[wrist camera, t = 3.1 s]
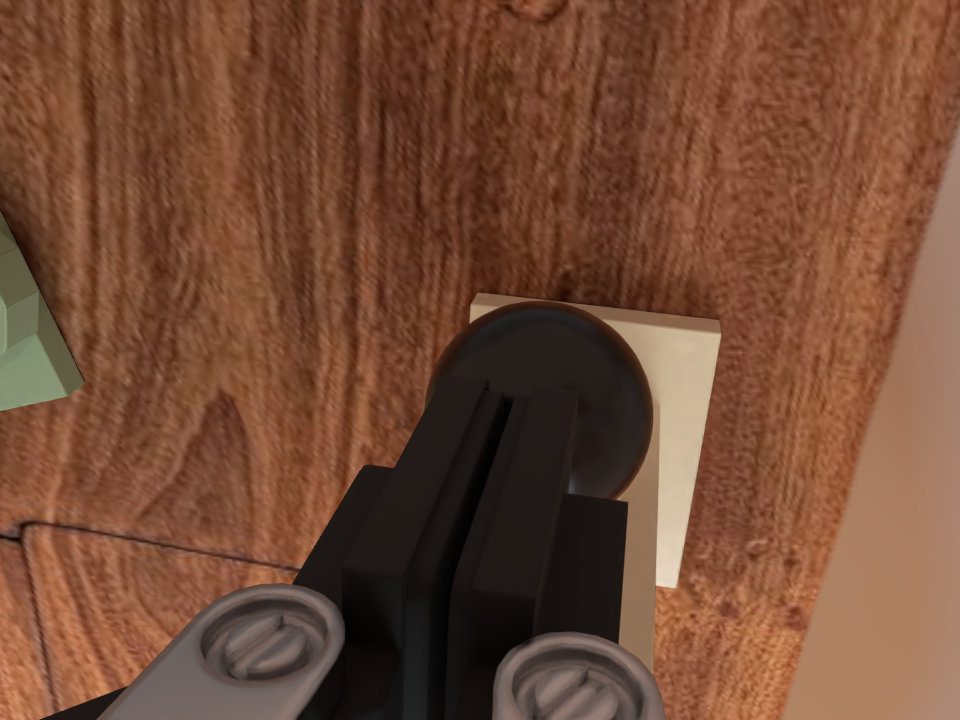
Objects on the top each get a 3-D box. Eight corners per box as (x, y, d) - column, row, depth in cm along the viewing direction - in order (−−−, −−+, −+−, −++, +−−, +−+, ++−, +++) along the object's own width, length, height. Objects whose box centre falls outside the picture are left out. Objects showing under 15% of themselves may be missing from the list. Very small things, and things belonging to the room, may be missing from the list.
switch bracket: (477, 291, 30) (302, 590, 16) (720, 319, 29) (764, 671, 15) (465, 535, 34) (319, 943, 20) (676, 569, 33) (678, 1028, 19)
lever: (449, 245, 13) (388, 389, 11) (672, 269, 12) (661, 426, 10) (464, 705, 21) (432, 844, 19) (598, 730, 21) (582, 876, 18)
